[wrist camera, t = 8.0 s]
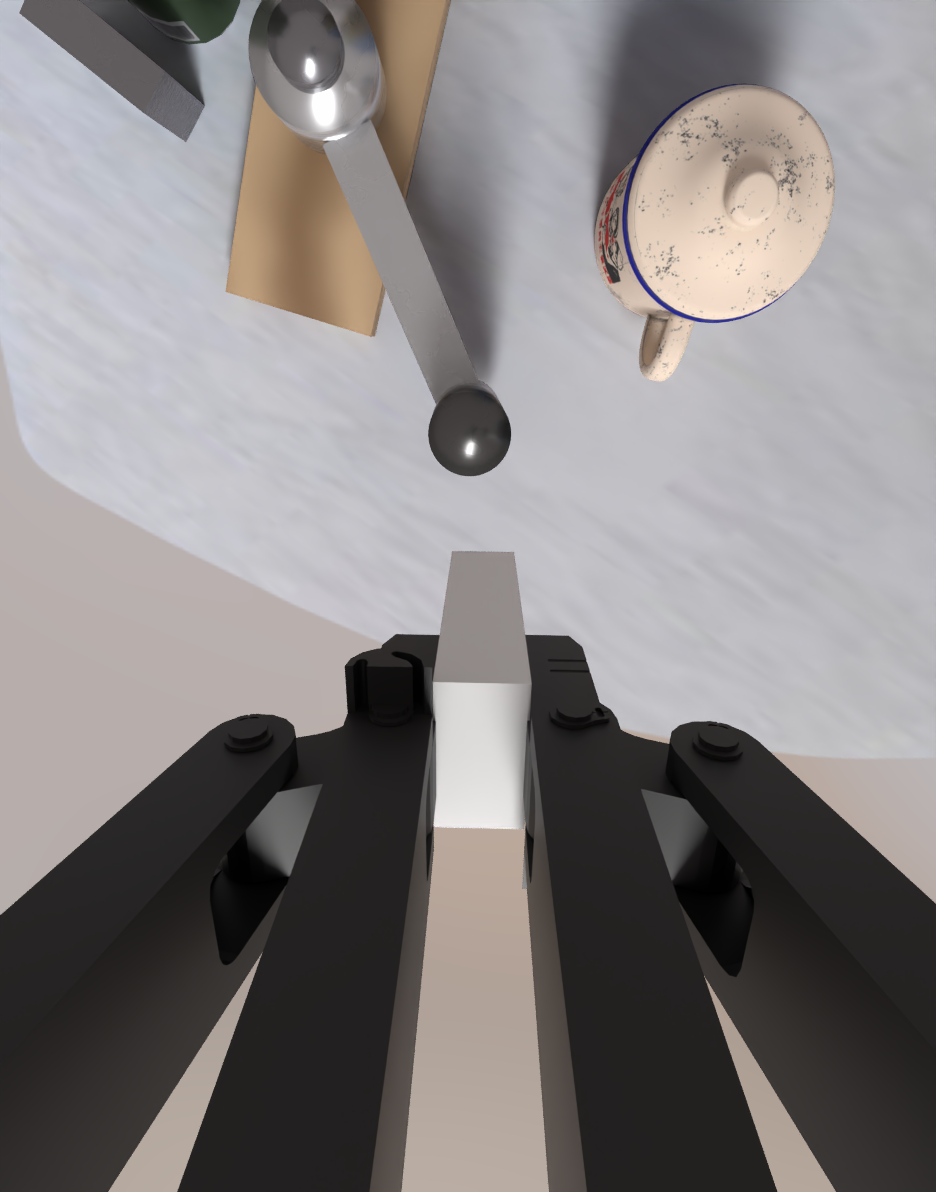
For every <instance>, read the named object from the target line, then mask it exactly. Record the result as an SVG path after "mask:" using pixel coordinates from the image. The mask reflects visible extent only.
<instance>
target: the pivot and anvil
mask: <svg viewBox="0 0 936 1192" xmlns="http://www.w3.org/2000/svg"><path fill="white" fill-rule="evenodd" d="M20 14H21V15H22V16H24V17H25V18H26V19H27V20H29V21H30V22H31V23H32V24H34V25H35V26H36V27H37V28H39V29H40V30H41V31H42V32H43V33H45V34H46V35H47V36H48V37H50V38H51V39H52V40H53V41H55V42H56V43H57V44H58V45H60V46H61V47H62V48H63V49H65V50H66V51H67V52H68V53H70V54H71V55H72V56H73V57H75V58H76V59H77V60H78V61H80V62H81V63H82V64H83V65H85V66H86V67H87V68H88V69H90V70H91V71H92V72H93V73H95V74H96V75H97V76H98V77H100V78H101V79H102V80H103V81H105V82H106V83H107V84H108V85H109V86H111V87H112V88H113V89H114V90H116V91H117V92H118V93H119V94H121V95H122V96H123V97H124V98H126V99H127V100H128V101H129V102H131V103H132V104H133V105H134V106H136V107H137V108H138V109H139V110H141V111H142V112H143V113H144V114H146V115H147V116H149V117H150V118H152V119H153V120H155V121H156V122H158V123H159V124H160V125H162V126H163V127H165V128H166V129H168V130H169V131H171V132H172V133H174V134H175V135H176V136H178V137H179V138H181V139H182V140H184V141H185V142H186V141H187V139H188V137H189V135H190V133H191V131H192V129H193V127H194V126H195V124H196V122H197V120H198V118H199V116H200V114H201V112H202V110H203V108H204V105H203V104H202V103H201V102H200V101H199V100H197V99H196V98H195V97H194V96H193V95H192V94H191V93H189V92H188V91H187V90H186V89H185V88H184V87H183V86H181V85H180V84H179V83H178V82H177V81H176V80H175V79H173V78H172V77H171V76H170V75H169V74H168V73H167V72H166V71H164V70H163V69H162V68H161V67H160V66H158V65H157V64H156V63H155V62H153V61H152V60H151V59H150V58H149V57H147V56H146V55H145V54H144V53H143V52H141V51H140V50H139V49H138V48H136V47H135V46H134V45H133V44H132V43H130V42H129V41H128V40H127V39H126V38H124V37H123V36H122V35H121V34H120V33H118V32H117V31H116V30H115V29H113V28H112V27H111V26H110V25H109V24H107V23H106V22H105V21H104V20H103V19H101V18H100V17H99V16H98V15H97V14H95V13H94V12H93V11H92V10H90V9H89V8H88V7H87V6H86V5H84V4H83V3H82V2H81V1H80V0H25V1H24V3H23V5H22V8H21V10H20ZM267 43H268V48H269V52H270V54H271V57H272V59H273V61H274V63H275V64H276V66H277V68H278V69H279V70H280V72H281V73H282V75H283V76H284V77H285V79H286V80H287V81H288V82H289V83H290V84H291V85H292V86H293V87H294V88H296V89H298V90H299V91H302V92H304V93H309V94H317V93H322V92H324V91H326V90H328V89H330V88H331V87H332V86H333V85H334V84H335V83H336V82H337V80H338V79H339V77H340V75H341V73H342V70H343V66H344V61H345V49H344V43H343V39H342V36H341V34H340V31H339V29H338V26H337V24H336V22H335V19H334V17H333V16H332V14H331V12H330V11H329V10H328V8H327V7H326V6H325V5H324V4H323V3H322V2H320V1H319V0H282V1H281V2H279V3H278V5H277V6H276V7H275V8H274V10H273V12H272V14H271V16H270V19H269V22H268V27H267Z"/></svg>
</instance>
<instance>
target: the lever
mask: <svg viewBox="0 0 936 1192" xmlns="http://www.w3.org/2000/svg"><path fill="white" fill-rule="evenodd" d="M261 1H262V2H261V3H260V5H259V7H258V9H257V11H256V13H255V15H254V18H253V21H252V25H251V29H250V35H249V60H250V66H251V70H252V74H253V78H254V80H255V83H256V85H257V88H258V90H259V92H260V93H261V95H262V97H263V98H264V100H265V101H266V103H267V104H268V106H269V107H270V108H271V109H272V110H273V111H274V113H275V114H276V115H277V116H278V117H279V118H280V120H281V121H282V122H283V123H284V124H285V125H286V127H287V128H288V129H289V130H290V131H291V132H292V134H293V135H294V136H295V137H296V138H297V139H298V140H299V141H300V142H301V143H303V144H304V145H306V146H307V147H308V148H310V149H312V150H314V151H317V152H319V153H323V154H326V155H327V157H328V159H329V162H330V164H331V166H332V168H333V171H334V173H335V175H336V177H337V180H338V182H339V184H340V187H341V189H342V191H343V193H344V196H345V198H346V200H347V203H348V205H349V207H350V209H351V212H352V214H353V216H354V218H355V221H356V223H357V225H358V228H359V230H360V232H361V234H362V237H363V239H364V241H365V243H366V246H367V248H368V250H369V253H370V255H371V257H372V259H373V262H374V264H375V266H376V268H377V271H378V273H379V275H380V278H381V280H382V282H383V284H384V287H385V289H386V291H387V294H388V296H389V298H390V300H391V303H392V305H393V307H394V309H395V312H396V314H397V316H398V319H399V321H400V323H401V325H402V328H403V330H404V332H405V334H406V337H407V339H408V341H409V344H410V346H411V348H412V350H413V353H414V355H415V357H416V359H417V362H418V364H419V366H420V369H421V371H422V373H423V375H424V378H425V380H426V382H427V385H428V387H429V389H430V391H431V394H432V396H433V398H434V400H435V403H436V407H435V410H434V412H433V415H432V418H431V421H430V424H429V431H428V437H429V444H430V447H431V450H432V452H433V454H434V456H435V458H436V459H437V460H438V462H439V463H440V464H441V465H442V466H443V467H445V468H446V469H447V470H449V471H451V472H453V473H455V474H458V475H463V476H477V475H481V474H484V473H486V472H488V471H490V470H492V469H493V468H495V467H496V466H497V465H498V464H499V463H500V462H501V461H502V460H503V458H504V457H505V455H506V453H507V451H508V448H509V445H510V441H511V427H510V423H509V420H508V417H507V415H506V413H505V411H504V409H503V407H502V405H501V403H500V402H499V400H498V398H497V396H496V394H495V393H494V391H493V390H492V389H491V388H490V387H489V386H488V385H487V384H485V383H484V382H482V381H480V380H478V378H477V376H476V373H475V371H474V368H473V366H472V364H471V361H470V359H469V356H468V354H467V351H466V349H465V347H464V344H463V342H462V339H461V337H460V334H459V332H458V330H457V327H456V325H455V322H454V320H453V317H452V315H451V313H450V310H449V308H448V305H447V303H446V300H445V298H444V296H443V293H442V291H441V288H440V286H439V283H438V281H437V279H436V276H435V274H434V271H433V269H432V266H431V264H430V262H429V259H428V257H427V254H426V252H425V249H424V247H423V245H422V242H421V240H420V237H419V235H418V232H417V230H416V228H415V225H414V223H413V220H412V218H411V215H410V213H409V211H408V208H407V206H406V203H405V201H404V198H403V196H402V194H401V191H400V189H399V186H398V184H397V181H396V179H395V177H394V174H393V172H392V169H391V167H390V164H389V162H388V160H387V157H386V155H385V152H384V150H383V147H382V145H381V143H380V140H379V138H378V135H377V133H376V130H377V129H378V127H379V125H380V123H381V120H382V117H383V114H384V110H385V106H386V80H385V75H384V71H383V67H382V64H381V61H380V57H379V54H378V51H377V48H376V44H375V41H374V38H373V34H372V31H371V28H370V25H369V23H368V21H367V19H366V17H365V15H364V13H363V11H362V10H361V8H360V7H359V5H358V4H357V3H356V1H355V0H319V1H320V2H322V3H323V4H324V5H325V6H326V7H327V8H328V10H329V11H330V12H331V14H332V16H333V17H334V19H335V22H336V24H337V26H338V29H339V31H340V34H341V36H342V39H343V43H344V49H345V61H344V66H343V70H342V73H341V75H340V77H339V79H338V80H337V82H336V83H335V84H334V85H333V86H332V87H331V88H330V89H328V90H326V91H324V92H322V93H317V94H309V93H304V92H302V91H299V90H298V89H296V88H294V87H293V86H292V85H291V84H290V83H289V82H288V81H287V80H286V79H285V77H284V76H283V75H282V73H281V72H280V70H279V69H278V68H277V66H276V64H275V63H274V61H273V59H272V57H271V54H270V52H269V48H268V43H267V27H268V22H269V19H270V16H271V14H272V12H273V10H274V8H275V7H276V6H277V5H278V3H279V2H281V1H282V0H261Z"/></svg>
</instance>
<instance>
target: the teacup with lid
mask: <svg viewBox="0 0 936 1192" xmlns="http://www.w3.org/2000/svg"><path fill="white" fill-rule="evenodd" d="M834 193H835V177H834V167H833V162H832V157H831V153H830V150H829V146H828V144H827V141H826V139H825V136H824V134H823V132H822V131H821V129H820V127H819V125H818V124H817V122H816V121H815V119H814V118H813V117H812V115H811V114H810V113H809V112H808V111H807V110H806V109H805V108H804V107H803V106H802V105H801V104H799V103H798V102H797V101H796V100H794V99H793V98H791V97H790V96H788V95H786V94H784V93H782V92H780V91H777V90H775V89H772V88H769V87H764V86H759V85H753V84H733V85H725V86H721V87H717V88H713V89H711V90H708V91H705V92H703V93H701V94H699V95H697V96H695V97H693V98H691V99H689V100H688V101H686V102H685V103H683V104H682V105H680V106H679V107H678V108H676V109H675V110H674V111H673V112H671V113H670V114H669V115H668V116H667V117H666V118H665V119H664V120H663V121H662V122H661V123H660V124H659V126H658V127H657V128H656V129H655V130H654V132H653V133H652V134H651V136H650V137H649V138H648V140H647V141H646V143H645V144H644V146H643V148H642V149H641V151H640V153H639V154H638V155H637V156H636V157H635V158H634V159H633V160H632V161H631V162H630V163H629V164H628V165H627V166H626V167H625V168H624V169H623V170H622V171H621V172H620V174H619V175H618V176H617V177H616V179H615V180H614V181H613V183H612V184H611V186H610V188H609V189H608V191H607V193H606V195H605V197H604V199H603V202H602V204H601V207H600V210H599V213H598V217H597V222H596V228H595V254H596V260H597V264H598V268H599V271H600V274H601V276H602V279H603V281H604V283H605V284H606V286H607V288H608V289H609V291H610V292H611V294H612V295H613V296H614V297H615V298H616V299H617V300H618V301H619V302H620V303H621V304H622V305H623V306H625V307H626V308H627V309H629V310H631V311H632V312H634V313H636V314H638V315H641V316H644V317H647V320H646V323H645V327H644V331H643V335H642V339H641V344H640V351H639V364H640V369H641V372H642V374H643V376H644V377H646V378H648V379H651V380H655V381H663V380H666V379H667V378H669V377H670V376H671V375H672V373H673V372H674V371H675V369H676V368H677V366H678V364H679V362H680V360H681V358H682V356H683V354H684V351H685V349H686V346H687V343H688V340H689V337H690V334H691V331H692V328H693V325H694V322H695V321H697V322H705V323H721V322H729V321H733V320H738V319H741V318H744V317H747V316H750V315H752V314H754V313H756V312H759V311H761V310H762V309H764V308H766V307H768V306H769V305H771V304H772V303H774V302H775V301H776V300H778V299H779V298H780V297H781V296H783V295H784V294H785V293H786V292H787V291H788V290H789V289H790V288H791V287H792V286H793V285H794V284H795V283H796V282H797V281H798V280H799V279H800V277H801V276H802V275H803V274H804V272H805V271H806V270H807V268H808V267H809V265H810V264H811V262H812V261H813V259H814V258H815V256H816V254H817V252H818V250H819V248H820V246H821V244H822V242H823V240H824V237H825V235H826V232H827V229H828V226H829V223H830V219H831V215H832V210H833V203H834Z"/></svg>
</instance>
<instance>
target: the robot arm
mask: <svg viewBox="0 0 936 1192" xmlns="http://www.w3.org/2000/svg"><path fill="white" fill-rule="evenodd" d="M345 677H346V693H347V709H348V714H347V717H346V720H345V722H344V725H343V726H342V727H340V728H338V729H335V730H332V731H329V732H325V733H321V734H317V735H310V736H304V737H298V738H296V735H295V729H294V726H293V725H292V724H291V723H290V722H289V721H287V720H286V719H284V718H281V717H278V716H275V715H262V714H250V715H244V716H240V717H237V718H235V719H232V720H229V721H226V722H224V723H222V724H220V725H219V726H217V727H216V728H214V729H212V730H211V731H209V732H208V733H207V734H206V735H205V736H204V737H203V738H201V739H200V740H199V741H198V742H197V743H196V744H195V745H194V746H192V747H191V748H190V749H189V750H188V751H187V752H186V753H184V754H183V755H182V756H181V757H180V758H179V759H178V760H176V761H175V762H174V763H173V764H172V765H171V766H170V767H168V768H167V769H166V770H165V771H164V772H163V773H162V774H161V775H159V776H158V777H157V778H156V779H155V780H154V781H153V782H151V784H149V785H148V786H147V787H146V788H145V789H144V790H142V791H141V792H140V793H139V794H138V795H137V796H136V797H134V798H133V799H132V800H131V801H130V802H129V803H128V804H126V805H125V806H124V807H123V808H122V809H121V810H120V811H118V812H117V813H116V814H115V815H114V816H113V817H112V818H110V819H109V820H108V821H107V822H106V823H105V824H104V825H103V826H101V827H100V828H99V829H98V830H97V831H96V832H95V833H93V834H92V835H91V836H90V837H89V838H88V839H87V840H86V841H84V842H83V843H82V844H81V845H80V846H79V847H77V848H76V849H75V850H74V851H73V852H72V853H71V854H70V855H68V856H67V857H66V858H65V859H64V860H63V861H62V862H61V863H59V864H58V865H57V866H56V867H55V868H54V869H52V870H51V871H50V872H49V873H48V874H47V875H46V876H45V877H43V878H42V879H41V880H40V881H39V882H38V883H37V884H35V885H34V886H33V887H32V888H31V889H30V890H29V891H27V892H26V893H25V894H24V895H23V896H22V897H21V898H19V899H18V900H17V901H16V902H15V903H14V904H13V905H12V906H10V907H9V908H8V909H7V910H6V911H5V912H4V913H2V914H1V915H0V1192H108V1191H109V1189H110V1188H111V1186H112V1185H113V1183H114V1181H115V1180H116V1178H117V1177H118V1175H119V1174H120V1172H121V1171H122V1169H123V1168H124V1166H125V1165H126V1163H127V1161H128V1160H129V1158H130V1157H131V1155H132V1154H133V1152H134V1151H135V1149H136V1147H137V1146H138V1144H139V1143H140V1141H141V1139H142V1138H143V1137H144V1135H145V1133H146V1132H147V1130H148V1129H149V1127H150V1125H151V1124H152V1123H153V1121H154V1120H155V1118H156V1116H157V1115H158V1113H159V1112H160V1110H161V1109H162V1107H163V1106H164V1104H165V1102H166V1101H167V1099H168V1098H169V1096H170V1094H171V1093H172V1091H173V1090H174V1088H175V1087H176V1085H177V1084H178V1082H179V1081H180V1079H181V1078H182V1076H183V1074H184V1073H185V1071H186V1069H187V1068H188V1067H189V1065H190V1064H191V1062H192V1061H193V1059H194V1057H195V1056H196V1054H197V1053H198V1051H199V1050H200V1048H201V1047H202V1045H203V1043H204V1042H205V1040H206V1039H207V1037H208V1036H209V1034H210V1032H211V1031H212V1029H213V1028H214V1026H215V1025H216V1023H217V1022H218V1020H219V1018H220V1017H221V1015H222V1014H223V1012H224V1011H225V1009H226V1007H227V1006H228V1005H229V1003H230V1001H231V1000H232V998H233V997H234V995H235V994H236V992H237V991H238V989H239V988H240V986H241V984H242V983H243V981H244V980H245V978H246V977H247V975H248V974H249V972H250V970H251V969H252V967H253V966H254V964H255V963H256V961H257V959H258V958H259V956H260V955H261V953H262V952H263V953H262V956H261V958H260V961H259V964H258V967H257V970H256V973H255V975H254V978H253V981H252V984H251V986H250V989H249V992H248V995H247V998H246V1000H245V1003H244V1006H243V1009H242V1012H241V1014H240V1017H239V1020H238V1023H237V1026H236V1029H235V1031H234V1034H233V1037H232V1040H231V1043H230V1046H229V1048H228V1051H227V1054H226V1057H225V1059H224V1062H223V1065H222V1068H221V1071H220V1073H219V1076H218V1079H217V1082H216V1085H215V1087H214V1090H213V1093H212V1096H211V1099H210V1102H209V1104H208V1107H207V1110H206V1113H205V1116H204V1119H203V1121H202V1124H201V1127H200V1130H199V1132H198V1135H197V1138H196V1141H195V1144H194V1147H193V1149H192V1152H191V1155H190V1158H189V1161H188V1163H187V1166H186V1169H185V1172H184V1175H183V1177H182V1180H181V1183H180V1186H179V1189H178V1191H177V1192H401V1189H402V1179H403V1168H404V1157H405V1147H406V1136H407V1126H408V1115H409V1105H410V1094H411V1084H412V1073H413V1063H414V1052H415V1042H416V1041H415V1040H416V1031H417V1020H418V1010H419V999H420V989H421V978H422V968H423V957H424V947H425V936H426V925H427V915H428V905H429V894H430V884H431V873H432V862H433V852H434V829H433V828H434V827H456V828H496V829H524V824H525V822H526V828H525V846H524V865H523V885H522V889H527V894H528V910H529V923H530V937H531V951H532V965H533V977H534V992H535V1005H536V1019H537V1031H538V1044H539V1045H538V1047H539V1061H540V1073H541V1088H542V1101H543V1116H544V1130H545V1142H546V1157H547V1171H548V1183H549V1192H777V1189H776V1187H775V1183H774V1181H773V1178H772V1175H771V1172H770V1169H769V1166H768V1163H767V1160H766V1157H765V1154H764V1151H763V1148H762V1145H761V1143H760V1139H759V1136H758V1133H757V1130H756V1127H755V1124H754V1122H753V1119H752V1116H751V1113H750V1110H749V1107H748V1104H747V1101H746V1098H745V1095H744V1092H743V1089H742V1086H741V1083H740V1080H739V1077H738V1074H737V1071H736V1068H735V1066H734V1063H733V1060H732V1057H731V1054H730V1051H729V1048H728V1045H727V1042H726V1039H725V1036H724V1033H723V1030H722V1027H721V1024H720V1021H719V1018H718V1015H717V1012H716V1009H715V1006H714V1004H713V1001H712V998H711V995H710V992H709V989H708V986H707V983H706V980H705V978H706V979H707V981H708V982H709V984H710V986H711V987H712V989H713V991H714V992H715V994H716V996H717V997H718V999H719V1000H720V1002H721V1004H722V1005H723V1007H724V1009H725V1010H726V1012H727V1014H728V1015H729V1017H730V1018H731V1020H732V1022H733V1023H734V1025H735V1027H736V1028H737V1030H738V1032H739V1033H740V1035H741V1036H742V1038H743V1040H744V1041H745V1043H746V1045H747V1046H748V1048H749V1050H750V1051H751V1053H752V1055H753V1056H754V1058H755V1059H756V1061H757V1063H758V1064H759V1066H760V1068H761V1069H762V1071H763V1073H764V1074H765V1076H766V1078H767V1079H768V1081H769V1082H770V1084H771V1086H772V1087H773V1089H774V1091H775V1092H776V1094H777V1096H778V1097H779V1099H780V1100H781V1102H782V1104H783V1105H784V1107H785V1109H786V1110H787V1112H788V1114H789V1115H790V1117H791V1118H792V1120H793V1122H794V1123H795V1125H796V1127H797V1128H798V1130H799V1132H800V1133H801V1135H802V1137H803V1138H804V1140H805V1141H806V1143H807V1145H808V1146H809V1148H810V1150H811V1151H812V1153H813V1155H814V1156H815V1158H816V1159H817V1161H818V1163H819V1164H820V1166H821V1168H822V1169H823V1171H824V1173H825V1174H826V1176H827V1177H828V1179H829V1181H830V1182H831V1184H832V1186H833V1187H834V1189H835V1191H836V1192H936V904H935V903H934V902H933V901H932V900H931V899H930V898H929V897H928V896H927V895H925V894H924V893H923V892H922V891H921V890H920V889H919V888H918V887H917V886H916V885H915V884H914V883H913V882H911V881H910V880H909V879H908V878H907V877H906V876H905V875H904V874H903V873H902V872H901V871H899V870H898V869H897V868H896V867H895V866H894V865H893V864H892V863H891V862H889V861H888V860H887V859H886V858H885V857H884V856H883V855H882V854H881V853H880V852H879V851H878V850H877V849H875V848H874V847H873V846H872V845H871V844H870V843H869V842H868V841H867V840H866V839H865V838H863V837H862V836H861V835H860V834H859V833H858V832H857V831H856V830H854V828H852V827H851V826H850V825H849V824H848V823H847V822H846V821H845V820H844V819H843V818H842V817H840V816H839V815H838V814H837V813H836V812H835V811H834V810H833V809H832V808H831V807H829V806H828V805H827V804H826V803H825V802H824V801H823V800H822V799H821V798H820V797H819V796H817V795H816V794H815V793H814V792H813V791H812V790H811V789H810V788H809V787H808V786H806V784H804V783H803V782H802V781H801V780H800V779H799V778H798V777H797V776H796V775H795V774H794V773H792V772H791V771H790V770H789V769H788V768H787V767H786V766H785V765H784V764H783V763H782V762H780V761H779V760H778V759H777V758H776V757H775V756H774V755H773V754H772V753H771V752H770V751H768V750H767V749H766V748H765V747H764V746H763V745H762V744H761V743H760V742H759V741H757V740H756V739H754V738H753V737H752V736H750V735H749V734H747V733H746V732H744V731H741V730H739V729H736V728H734V727H731V726H730V725H727V724H723V723H717V722H711V721H707V722H690V723H686V724H682V725H680V726H678V727H677V728H676V729H675V730H673V731H672V733H671V738H670V744H667V743H662V742H657V741H652V740H647V739H644V738H640V737H637V736H633V735H631V734H628V733H626V732H624V731H622V730H621V729H620V726H619V723H618V720H617V718H616V717H615V715H614V714H613V712H612V711H611V710H610V709H609V708H607V707H606V706H604V705H603V704H601V703H600V702H599V699H598V696H597V693H596V689H595V686H594V683H593V680H592V677H591V673H590V670H589V667H588V664H587V662H586V657H585V654H584V651H583V648H582V646H580V645H579V644H578V643H577V642H575V641H574V640H573V639H572V638H571V637H569V636H551V635H525V630H524V623H523V616H522V608H521V601H520V593H519V586H518V578H517V571H516V564H515V556H514V552H476V551H452V556H451V563H450V570H449V576H448V583H447V590H446V596H445V603H444V610H443V617H442V623H441V630H440V635H406V634H396V635H395V636H393V637H392V638H391V639H389V640H388V641H387V642H386V643H384V644H383V645H382V648H381V649H374V650H370V651H366V652H363V653H361V654H359V655H357V656H355V657H353V658H351V659H350V660H349V662H348V663H347V664H346V665H345ZM433 824H434V825H433ZM704 976H705V977H704Z"/></svg>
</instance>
